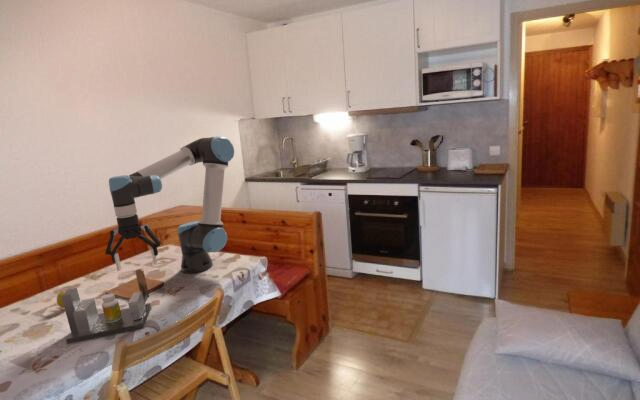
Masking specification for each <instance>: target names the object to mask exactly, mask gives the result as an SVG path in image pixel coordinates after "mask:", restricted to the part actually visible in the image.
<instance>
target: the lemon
mask: <svg viewBox="0 0 640 400" xmlns="http://www.w3.org/2000/svg"><path fill="white" fill-rule="evenodd" d="M60 291H61V292H59V293H58V294H57V296H56V304H57V306H59V307H60V308H62V309H65V308H64V304H63V301H62V297H61V296H62V295H63V294H64V293H65V292H66V291H67V290H60Z"/></svg>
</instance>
